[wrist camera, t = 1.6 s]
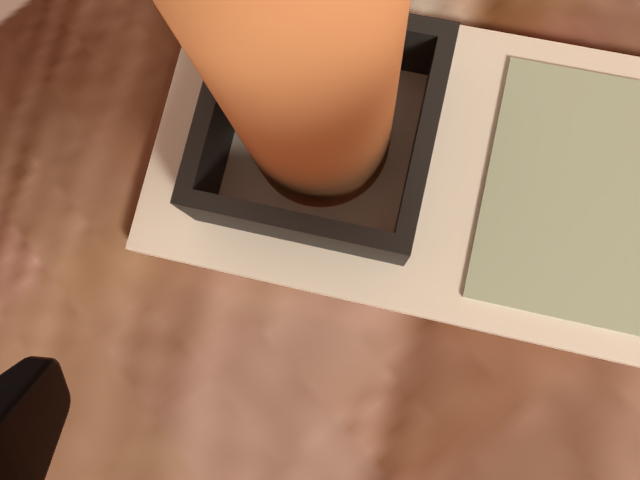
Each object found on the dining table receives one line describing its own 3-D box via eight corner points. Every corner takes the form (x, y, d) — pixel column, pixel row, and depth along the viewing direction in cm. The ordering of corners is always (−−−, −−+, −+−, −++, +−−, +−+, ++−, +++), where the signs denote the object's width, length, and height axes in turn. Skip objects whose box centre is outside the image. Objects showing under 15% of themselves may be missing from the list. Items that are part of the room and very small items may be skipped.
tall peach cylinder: (347, 231, 22) (326, 86, 9) (230, 167, 22) (51, -54, 9) (413, 114, 22) (485, -185, 9) (296, 55, 23) (212, -300, 10)
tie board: (135, 252, 23) (88, 235, 19) (207, -8, 24) (177, -73, 21) (758, 395, 21) (850, 410, 17) (797, 99, 22) (891, 49, 18)
